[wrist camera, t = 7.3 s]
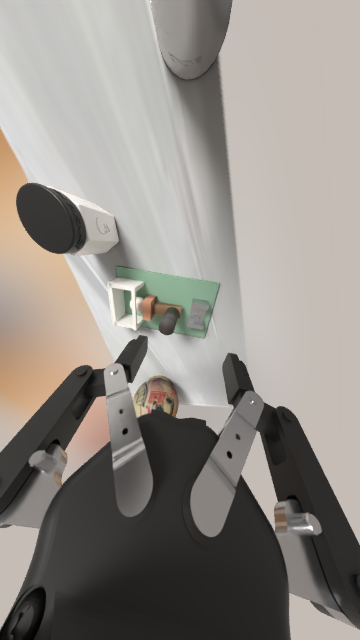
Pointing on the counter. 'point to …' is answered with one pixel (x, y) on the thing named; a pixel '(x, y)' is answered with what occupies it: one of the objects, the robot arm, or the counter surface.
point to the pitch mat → (171, 296)
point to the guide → (197, 313)
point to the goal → (118, 302)
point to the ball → (138, 304)
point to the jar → (65, 221)
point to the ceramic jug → (156, 397)
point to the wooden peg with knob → (161, 313)
